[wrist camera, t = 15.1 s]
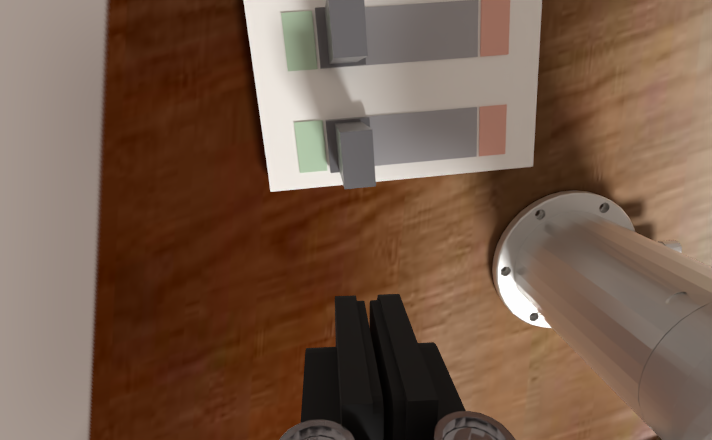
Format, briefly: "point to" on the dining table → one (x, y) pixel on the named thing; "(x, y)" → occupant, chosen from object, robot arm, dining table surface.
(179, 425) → the dining table surface
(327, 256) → the dining table surface
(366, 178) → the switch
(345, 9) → the middle switch
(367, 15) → the switch board
